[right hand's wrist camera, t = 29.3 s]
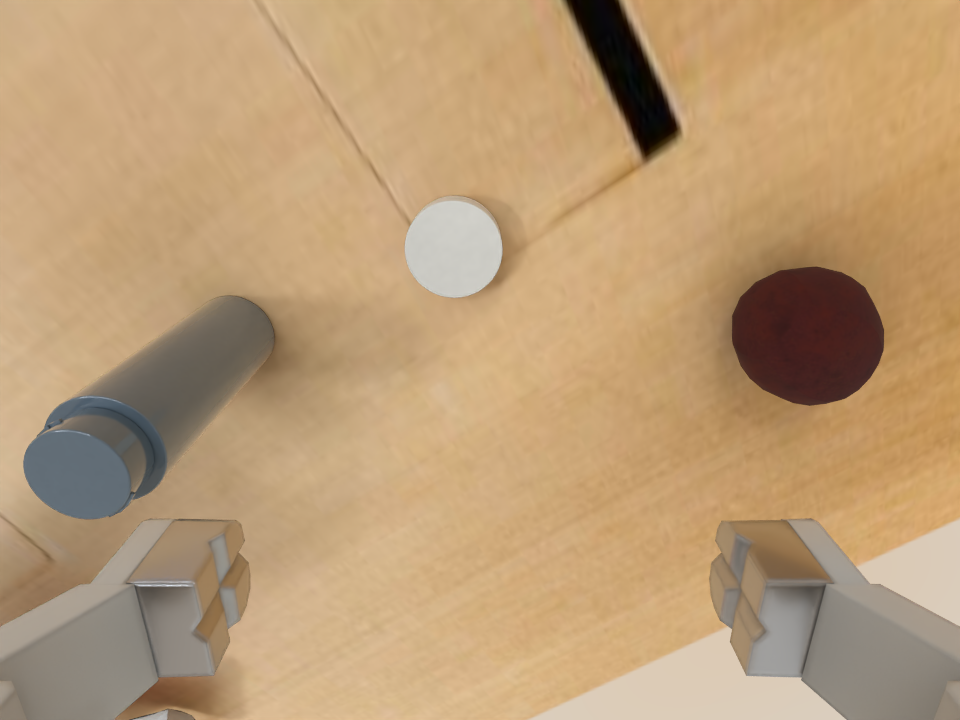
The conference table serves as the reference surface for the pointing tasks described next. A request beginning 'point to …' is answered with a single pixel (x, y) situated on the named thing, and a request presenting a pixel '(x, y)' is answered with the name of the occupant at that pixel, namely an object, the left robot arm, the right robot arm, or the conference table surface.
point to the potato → (808, 335)
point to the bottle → (146, 411)
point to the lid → (454, 247)
